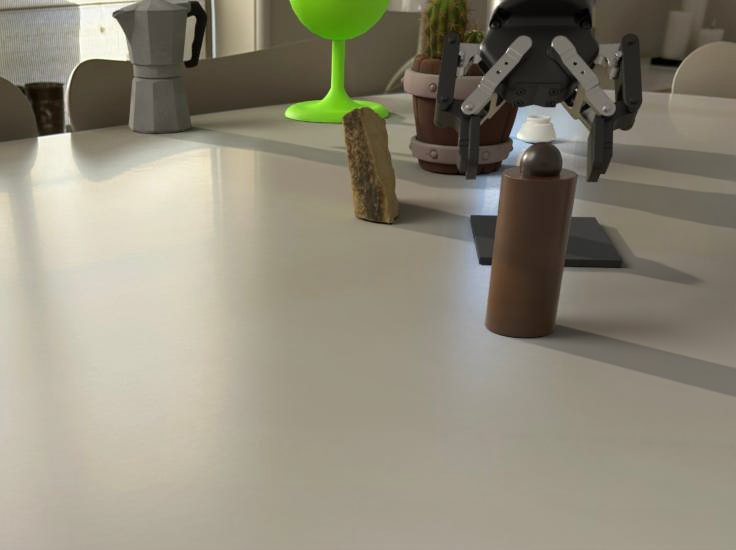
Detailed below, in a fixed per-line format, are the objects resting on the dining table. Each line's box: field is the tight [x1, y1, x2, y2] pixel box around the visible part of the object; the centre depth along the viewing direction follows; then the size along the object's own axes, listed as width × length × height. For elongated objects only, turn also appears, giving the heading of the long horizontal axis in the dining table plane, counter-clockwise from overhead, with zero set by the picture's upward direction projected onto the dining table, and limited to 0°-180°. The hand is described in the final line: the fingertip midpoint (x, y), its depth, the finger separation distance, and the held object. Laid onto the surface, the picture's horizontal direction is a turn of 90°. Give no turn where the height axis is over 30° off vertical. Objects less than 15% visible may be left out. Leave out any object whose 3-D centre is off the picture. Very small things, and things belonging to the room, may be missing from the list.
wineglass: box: [284, 0, 392, 124], centre depth 158 cm, size 16×16×18 cm
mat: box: [469, 214, 623, 268], centre depth 97 cm, size 12×16×1 cm
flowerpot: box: [400, 0, 520, 175], centre depth 122 cm, size 14×15×20 cm
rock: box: [341, 107, 400, 225], centre depth 107 cm, size 11×9×10 cm
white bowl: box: [516, 114, 557, 144], centre depth 141 cm, size 5×3×5 cm
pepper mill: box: [484, 142, 579, 339], centre depth 74 cm, size 5×5×12 cm
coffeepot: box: [111, 0, 208, 134], centre depth 149 cm, size 15×9×18 cm, turn 128°
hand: (533, 174), depth 75 cm, fingers open, 8 cm apart
